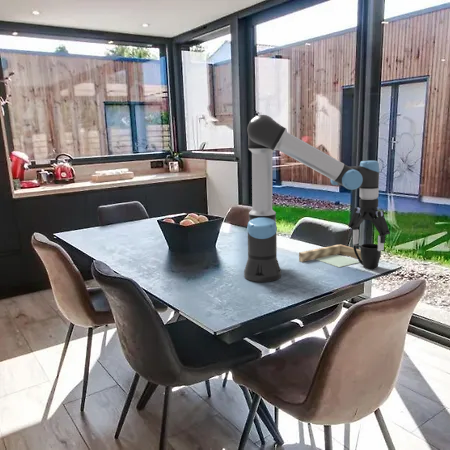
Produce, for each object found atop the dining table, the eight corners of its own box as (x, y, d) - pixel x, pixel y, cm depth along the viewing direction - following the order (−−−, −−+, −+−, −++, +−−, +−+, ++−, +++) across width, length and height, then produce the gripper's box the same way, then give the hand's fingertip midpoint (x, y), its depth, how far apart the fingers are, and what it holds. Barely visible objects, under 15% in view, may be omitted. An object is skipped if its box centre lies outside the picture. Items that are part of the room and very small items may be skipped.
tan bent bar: (323, 269, 183) (323, 260, 183) (299, 260, 197) (299, 252, 196) (365, 259, 196) (365, 251, 195) (339, 252, 209) (340, 244, 209)
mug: (359, 261, 193) (359, 241, 191) (383, 267, 184) (384, 245, 182) (348, 265, 188) (349, 244, 186) (373, 271, 179) (374, 249, 177)
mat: (338, 267, 186) (338, 266, 186) (315, 259, 199) (315, 258, 198) (360, 262, 192) (360, 261, 192) (336, 254, 205) (336, 254, 205)
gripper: (400, 200, 171) (398, 251, 176) (352, 194, 193) (352, 240, 197) (387, 202, 168) (385, 254, 172) (340, 196, 189) (340, 243, 193)
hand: (367, 247), depth 184 cm, fingers open, 13 cm apart
